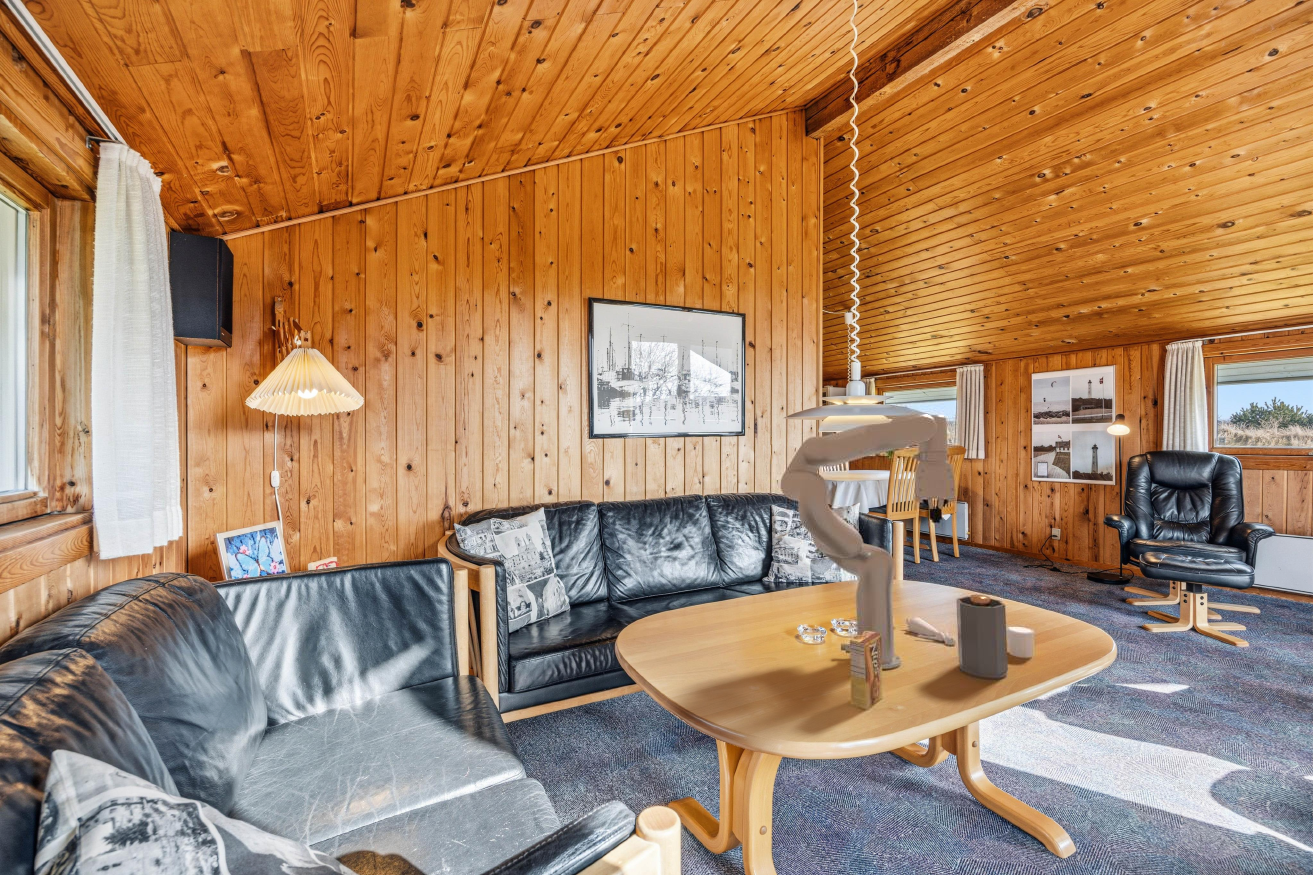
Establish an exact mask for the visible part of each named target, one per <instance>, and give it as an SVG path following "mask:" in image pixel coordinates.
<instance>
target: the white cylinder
mask: <svg viewBox="0 0 1313 875" xmlns="http://www.w3.org/2000/svg"><path fill="white" fill-rule="evenodd" d="M1006 638H1007V648H1008V654H1009V655H1011V656H1013V657H1016V658H1021V659H1031V658H1033V657H1034V647H1035V646H1034V645H1035V630H1034V629H1032V628H1029V627H1026V626H1021V625H1009V626H1006Z"/></svg>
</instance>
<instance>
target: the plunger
mask: <svg viewBox="0 0 1313 875" xmlns="http://www.w3.org/2000/svg"><path fill="white" fill-rule="evenodd" d="M970 597H971V605H973V606H979V607H990V596H988V595H984V594H972V595H970Z"/></svg>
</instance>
